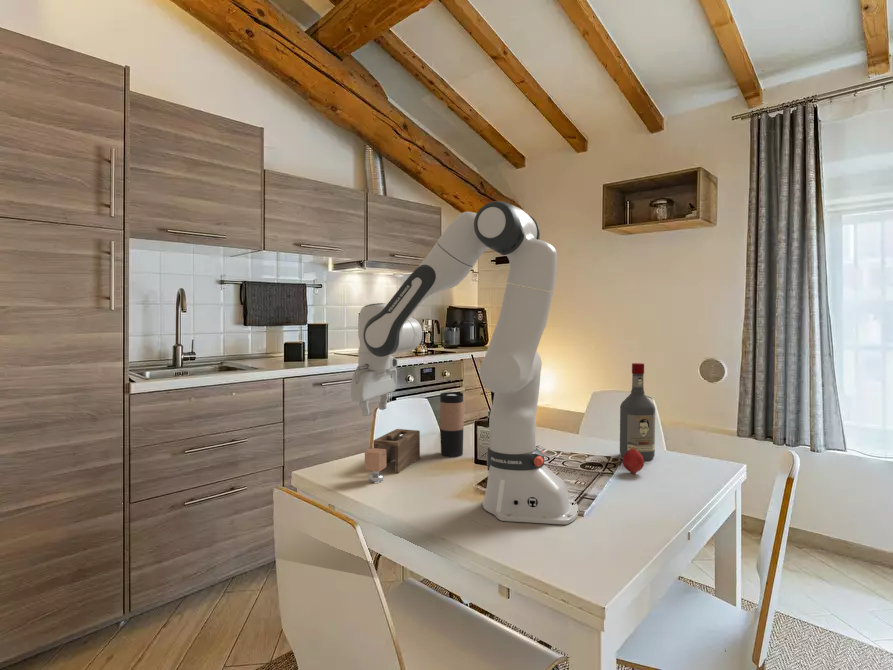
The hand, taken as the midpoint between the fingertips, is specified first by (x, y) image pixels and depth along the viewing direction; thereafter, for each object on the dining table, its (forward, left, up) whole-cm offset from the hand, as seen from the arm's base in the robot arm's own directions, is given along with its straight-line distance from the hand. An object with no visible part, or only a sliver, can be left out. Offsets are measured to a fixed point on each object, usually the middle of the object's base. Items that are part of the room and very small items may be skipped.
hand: (374, 412), depth 144 cm
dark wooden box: (+1, -16, -19) cm, 25 cm away
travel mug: (-11, -32, -19) cm, 39 cm away
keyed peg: (0, 0, -19) cm, 19 cm away
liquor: (-68, -49, -19) cm, 86 cm away
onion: (-67, -30, -19) cm, 76 cm away
